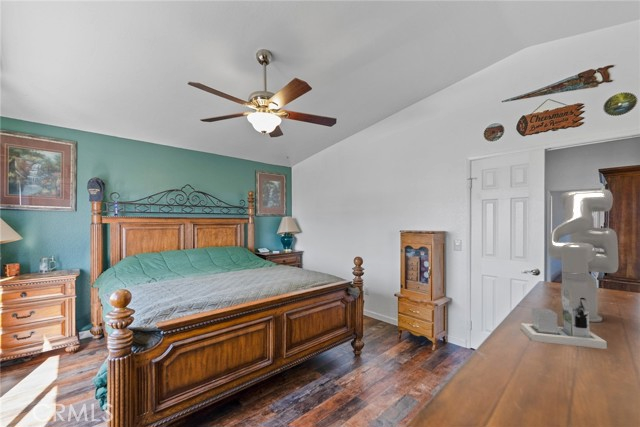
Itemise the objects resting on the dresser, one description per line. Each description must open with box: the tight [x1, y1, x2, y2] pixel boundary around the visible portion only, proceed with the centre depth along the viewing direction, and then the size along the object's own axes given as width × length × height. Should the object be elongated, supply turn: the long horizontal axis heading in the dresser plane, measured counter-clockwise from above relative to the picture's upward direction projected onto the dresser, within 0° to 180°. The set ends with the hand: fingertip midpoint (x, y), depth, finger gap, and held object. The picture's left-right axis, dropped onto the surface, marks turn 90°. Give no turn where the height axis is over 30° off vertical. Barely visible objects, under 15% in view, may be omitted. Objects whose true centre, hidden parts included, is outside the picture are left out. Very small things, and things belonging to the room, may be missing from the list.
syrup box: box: [561, 296, 591, 338], centre depth 107 cm, size 6×6×14 cm
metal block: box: [531, 307, 559, 335], centre depth 110 cm, size 6×6×10 cm
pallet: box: [520, 322, 608, 350], centre depth 109 cm, size 12×22×4 cm, turn 72°
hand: (576, 323), depth 107 cm, fingers closed on syrup box, 6 cm apart
